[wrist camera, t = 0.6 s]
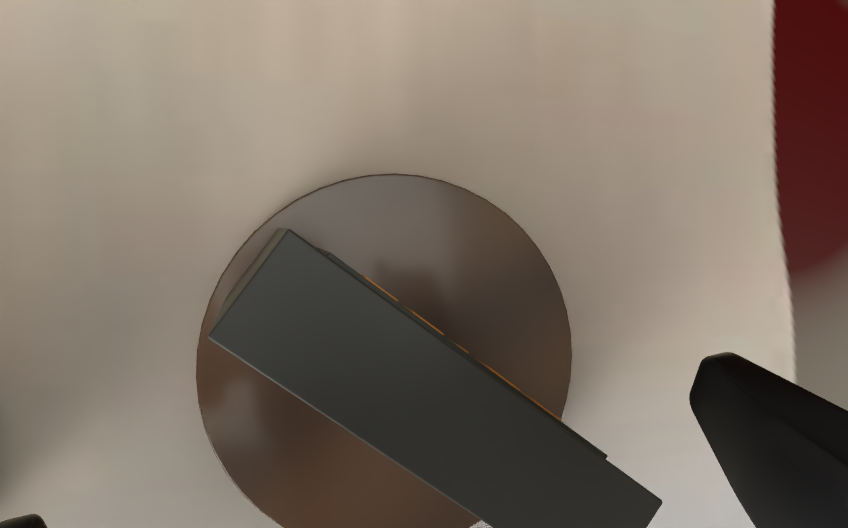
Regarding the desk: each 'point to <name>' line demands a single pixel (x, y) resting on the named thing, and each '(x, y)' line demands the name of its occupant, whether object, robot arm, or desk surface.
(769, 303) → the desk surface
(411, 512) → the shallow brown dish
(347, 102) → the desk surface
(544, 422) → the clock
